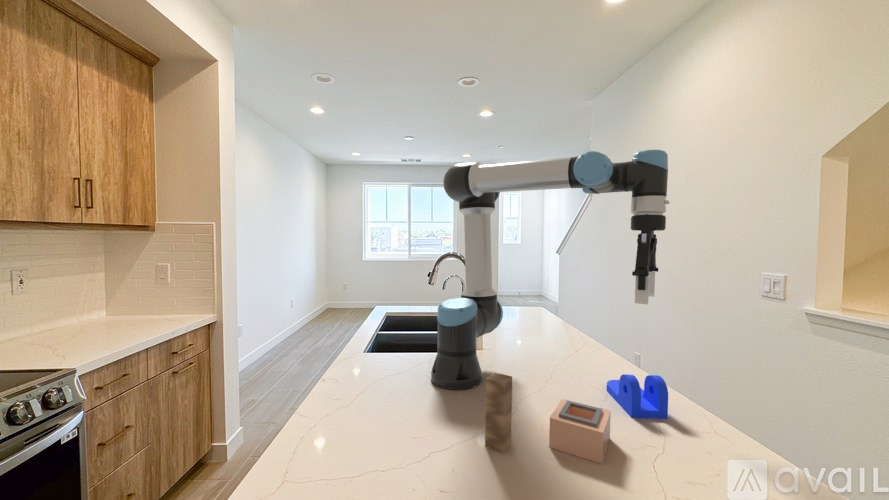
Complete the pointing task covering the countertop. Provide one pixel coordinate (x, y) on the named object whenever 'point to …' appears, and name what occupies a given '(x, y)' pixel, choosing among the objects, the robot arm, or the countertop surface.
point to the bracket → (641, 396)
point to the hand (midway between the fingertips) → (645, 299)
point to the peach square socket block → (580, 430)
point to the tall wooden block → (498, 412)
